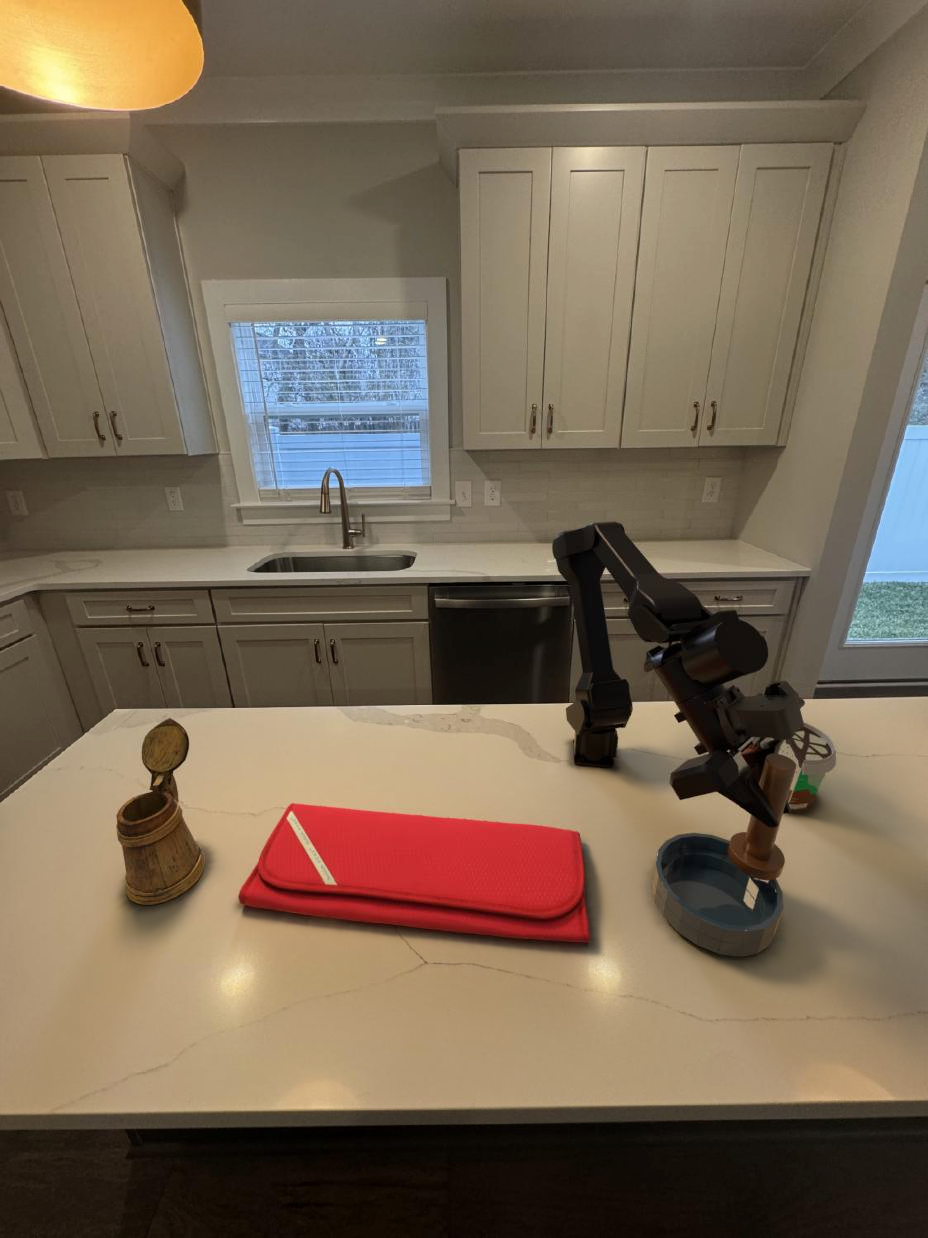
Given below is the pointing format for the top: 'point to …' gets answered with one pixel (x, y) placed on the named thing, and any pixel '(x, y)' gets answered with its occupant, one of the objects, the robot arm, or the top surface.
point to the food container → (807, 764)
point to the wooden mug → (159, 825)
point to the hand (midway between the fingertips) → (780, 819)
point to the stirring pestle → (757, 844)
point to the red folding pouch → (424, 873)
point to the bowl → (714, 896)
